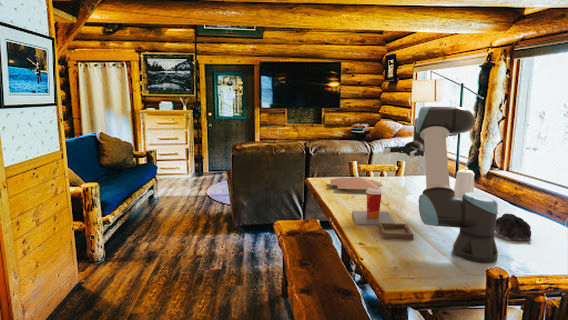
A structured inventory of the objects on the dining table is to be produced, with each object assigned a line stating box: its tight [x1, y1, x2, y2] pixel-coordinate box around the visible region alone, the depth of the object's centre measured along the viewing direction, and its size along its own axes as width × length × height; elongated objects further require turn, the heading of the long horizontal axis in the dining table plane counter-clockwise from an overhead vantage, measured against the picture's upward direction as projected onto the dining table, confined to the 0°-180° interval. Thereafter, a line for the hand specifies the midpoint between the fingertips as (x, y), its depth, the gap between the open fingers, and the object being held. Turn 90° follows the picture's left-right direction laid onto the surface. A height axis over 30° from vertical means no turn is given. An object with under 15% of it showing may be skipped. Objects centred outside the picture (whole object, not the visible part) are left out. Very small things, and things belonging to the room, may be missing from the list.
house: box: [329, 176, 384, 194], centre depth 229 cm, size 23×33×8 cm
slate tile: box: [352, 210, 395, 227], centre depth 174 cm, size 18×18×1 cm
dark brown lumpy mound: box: [495, 213, 532, 241], centre depth 152 cm, size 13×14×10 cm
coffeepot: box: [453, 166, 476, 197], centre depth 205 cm, size 11×25×19 cm, turn 168°
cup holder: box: [377, 222, 414, 241], centre depth 155 cm, size 12×12×2 cm
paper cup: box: [365, 188, 383, 219], centre depth 172 cm, size 8×8×14 cm
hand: (397, 153), depth 172 cm, fingers open, 13 cm apart
